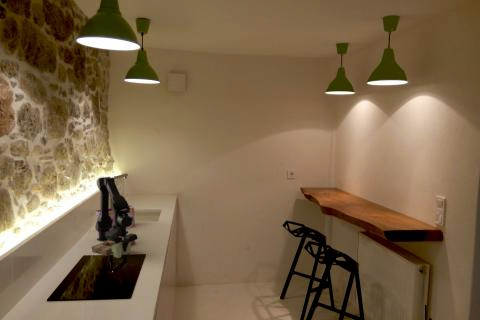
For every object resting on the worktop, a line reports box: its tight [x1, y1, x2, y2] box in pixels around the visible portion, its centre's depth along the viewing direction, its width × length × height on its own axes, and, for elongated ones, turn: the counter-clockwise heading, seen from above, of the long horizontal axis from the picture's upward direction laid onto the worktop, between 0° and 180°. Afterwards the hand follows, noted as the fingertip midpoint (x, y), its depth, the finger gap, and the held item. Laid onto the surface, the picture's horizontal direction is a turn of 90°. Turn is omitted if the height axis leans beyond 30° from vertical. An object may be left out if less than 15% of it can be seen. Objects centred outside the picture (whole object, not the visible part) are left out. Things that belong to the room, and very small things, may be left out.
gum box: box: [96, 205, 136, 230], centre depth 229 cm, size 24×8×14 cm, turn 124°
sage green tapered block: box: [112, 242, 132, 259], centre depth 184 cm, size 4×10×6 cm, turn 150°
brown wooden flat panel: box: [91, 238, 136, 257], centre depth 195 cm, size 12×20×3 cm, turn 150°
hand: (121, 251), depth 184 cm, fingers closed on sage green tapered block, 3 cm apart
